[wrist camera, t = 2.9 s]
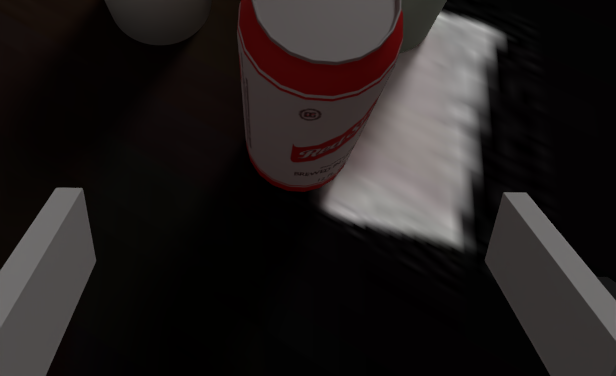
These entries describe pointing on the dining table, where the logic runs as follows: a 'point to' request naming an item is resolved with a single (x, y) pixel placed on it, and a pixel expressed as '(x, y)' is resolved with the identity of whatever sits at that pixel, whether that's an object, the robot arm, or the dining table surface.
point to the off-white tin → (159, 19)
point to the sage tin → (418, 20)
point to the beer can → (312, 81)
